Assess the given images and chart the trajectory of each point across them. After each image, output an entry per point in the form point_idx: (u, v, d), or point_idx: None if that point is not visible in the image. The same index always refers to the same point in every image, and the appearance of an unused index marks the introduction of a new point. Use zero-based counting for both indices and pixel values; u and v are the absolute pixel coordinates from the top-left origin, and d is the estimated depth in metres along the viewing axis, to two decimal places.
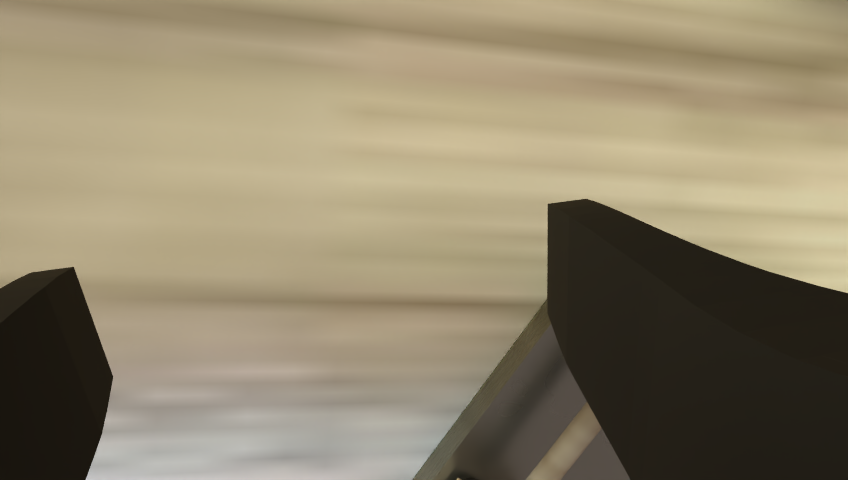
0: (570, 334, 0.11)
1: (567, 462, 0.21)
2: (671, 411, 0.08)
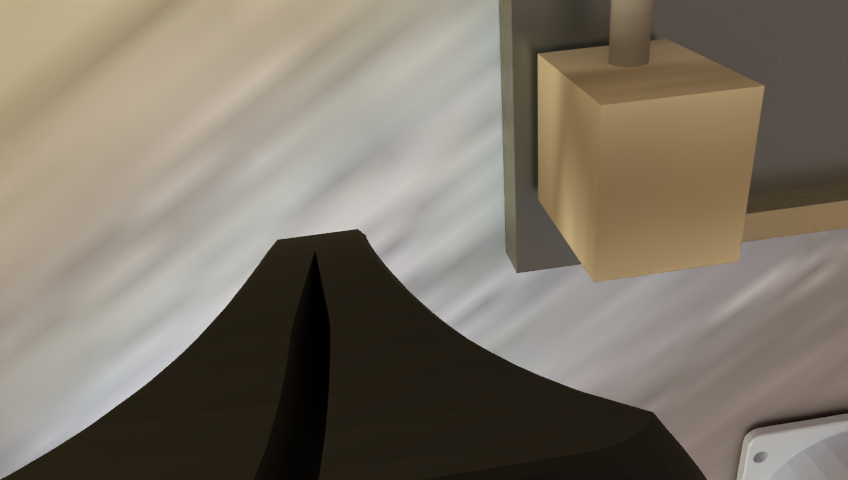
0: None
1: None
2: None
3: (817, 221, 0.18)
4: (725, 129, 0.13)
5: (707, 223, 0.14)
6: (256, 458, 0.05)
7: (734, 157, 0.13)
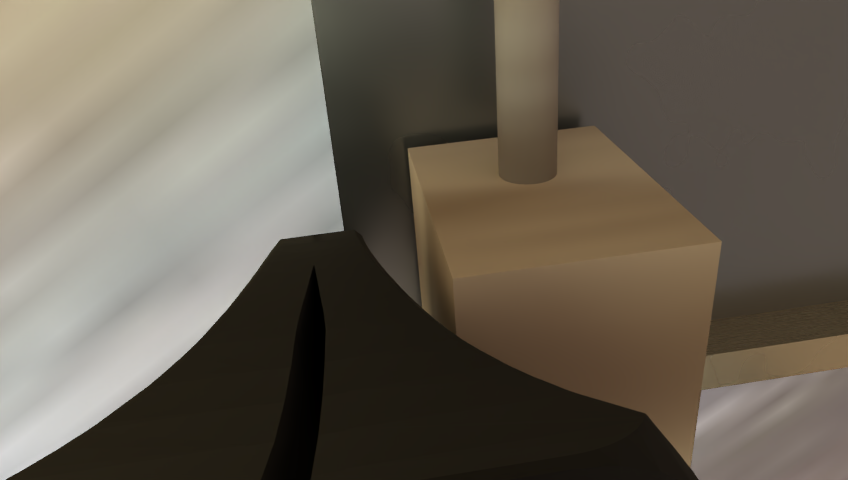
0: None
1: None
2: None
3: (775, 365, 0.13)
4: (660, 305, 0.08)
5: None
6: (263, 457, 0.05)
7: (676, 343, 0.08)
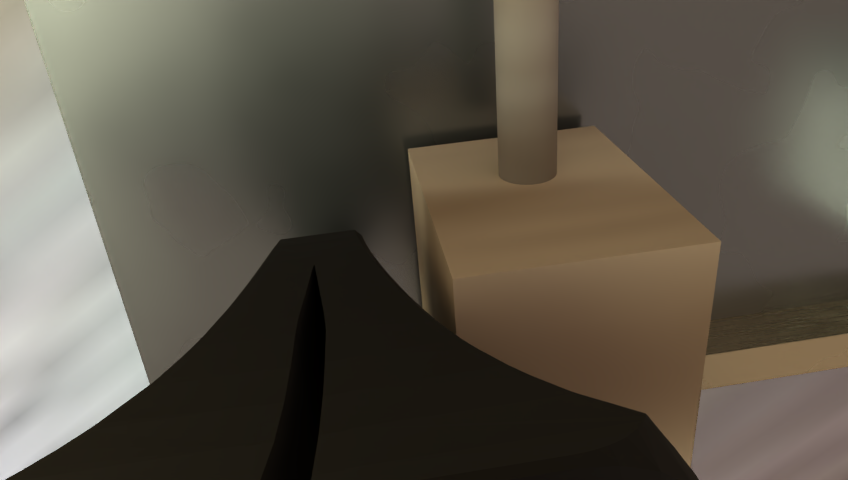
0: None
1: None
2: None
3: None
4: (660, 305, 0.08)
5: None
6: (262, 457, 0.05)
7: (676, 343, 0.08)
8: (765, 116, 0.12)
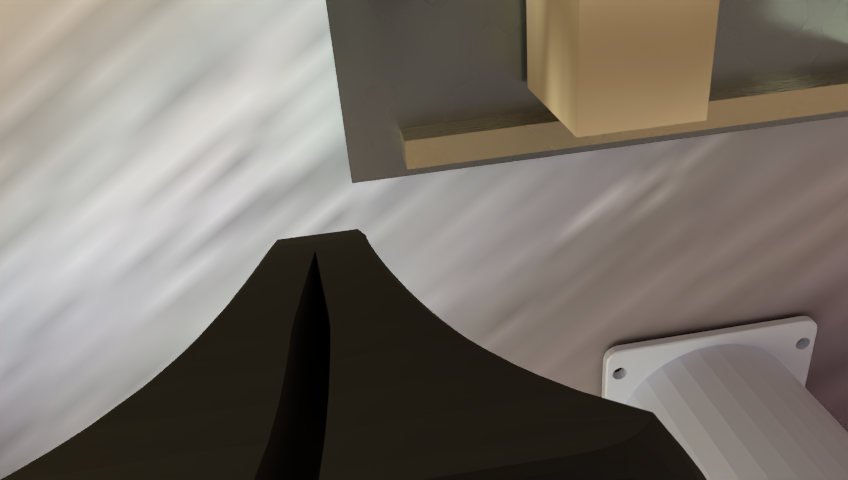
0: None
1: None
2: None
3: None
4: None
5: (677, 81, 0.15)
6: (256, 459, 0.05)
7: (700, 17, 0.15)
8: None
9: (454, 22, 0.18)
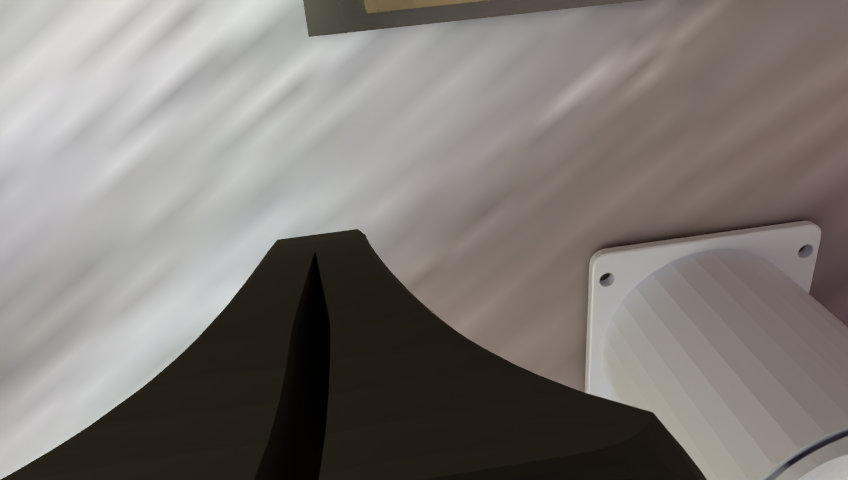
0: None
1: None
2: None
3: None
4: None
5: None
6: (256, 459, 0.05)
7: None
8: None
9: None
